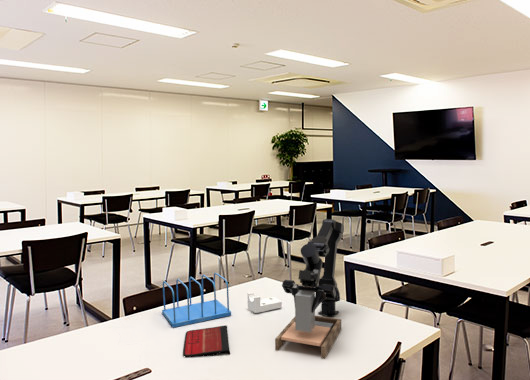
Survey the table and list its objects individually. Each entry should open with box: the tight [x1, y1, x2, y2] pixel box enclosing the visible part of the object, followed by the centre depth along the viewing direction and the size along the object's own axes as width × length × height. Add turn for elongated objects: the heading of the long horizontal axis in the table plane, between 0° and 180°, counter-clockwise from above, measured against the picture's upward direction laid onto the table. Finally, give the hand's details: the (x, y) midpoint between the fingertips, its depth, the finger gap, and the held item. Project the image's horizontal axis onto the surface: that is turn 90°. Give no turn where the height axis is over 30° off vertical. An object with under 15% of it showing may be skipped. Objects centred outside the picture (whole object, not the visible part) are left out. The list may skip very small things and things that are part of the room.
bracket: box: [247, 291, 283, 314], centre depth 188 cm, size 13×7×8 cm, turn 118°
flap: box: [281, 321, 333, 347], centre depth 157 cm, size 20×14×4 cm
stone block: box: [294, 290, 316, 332], centre depth 151 cm, size 6×6×12 cm
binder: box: [182, 325, 231, 358], centre depth 156 cm, size 16×2×21 cm
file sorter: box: [161, 272, 232, 328], centre depth 182 cm, size 25×17×15 cm
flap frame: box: [274, 315, 342, 359], centre depth 158 cm, size 25×18×4 cm
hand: (304, 311), depth 150 cm, fingers closed on stone block, 5 cm apart
